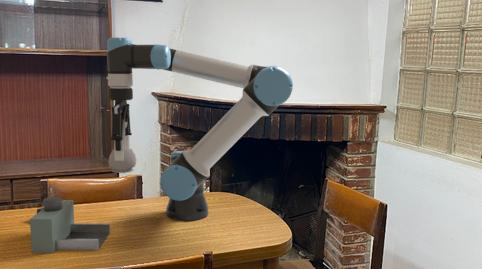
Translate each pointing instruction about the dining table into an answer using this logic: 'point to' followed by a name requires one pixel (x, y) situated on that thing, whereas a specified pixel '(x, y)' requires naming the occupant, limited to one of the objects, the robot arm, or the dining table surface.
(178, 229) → the dining table surface
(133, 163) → the potion bottle
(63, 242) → the side bay
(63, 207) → the housing
